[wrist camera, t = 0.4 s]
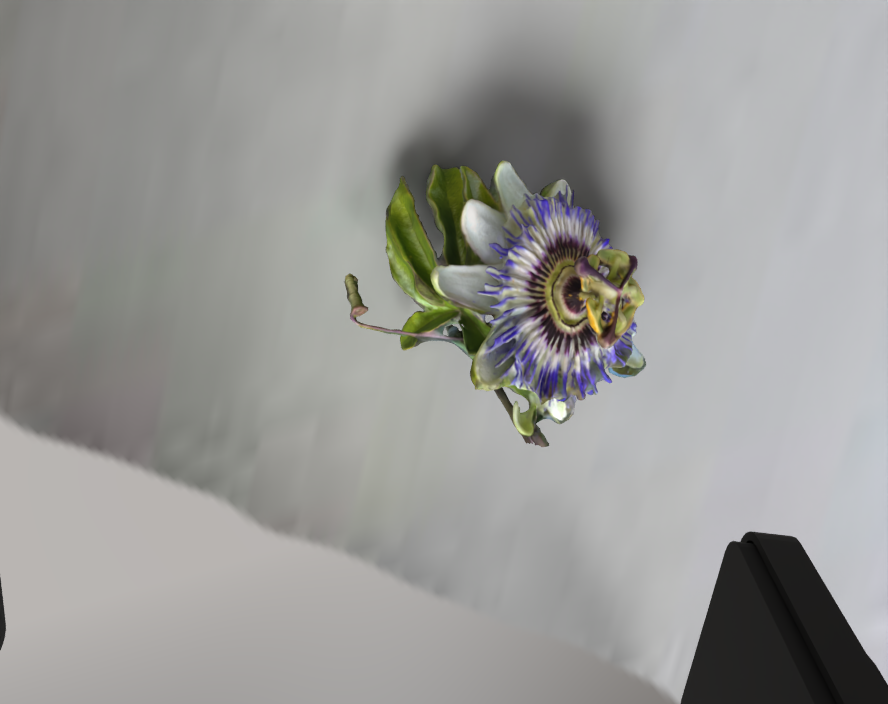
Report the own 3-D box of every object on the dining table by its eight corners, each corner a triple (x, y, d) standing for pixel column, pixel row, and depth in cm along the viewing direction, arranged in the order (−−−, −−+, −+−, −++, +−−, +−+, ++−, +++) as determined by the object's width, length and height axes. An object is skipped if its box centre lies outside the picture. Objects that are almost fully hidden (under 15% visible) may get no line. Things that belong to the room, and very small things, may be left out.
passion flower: (566, 212, 45) (716, 358, 37) (411, 345, 46) (527, 512, 38) (474, 66, 36) (645, 218, 29) (285, 235, 37) (402, 423, 30)
